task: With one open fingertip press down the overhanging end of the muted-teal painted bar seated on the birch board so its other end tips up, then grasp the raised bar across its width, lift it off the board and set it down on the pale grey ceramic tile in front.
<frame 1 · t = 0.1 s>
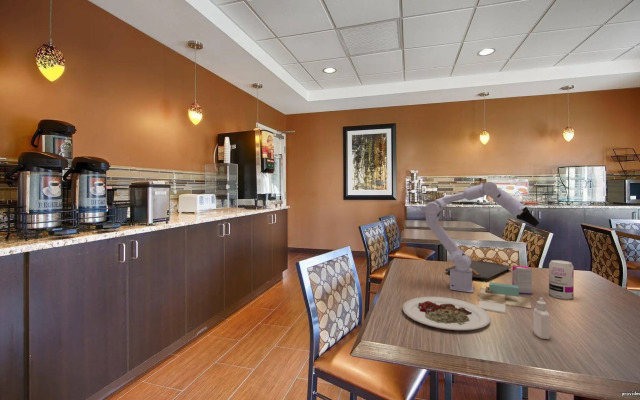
hand: (536, 223, 124), 32 cm above the table, tool tilted 50°, fingers open, 7 cm apart
teal bar: (503, 293, 125), point 3 cm above the table, touching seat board
eye dropper bottle: (541, 336, 94), on the table
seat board: (503, 299, 125), on the table
serving board: (478, 273, 168), on the table
supplement box: (521, 292, 134), on the table
supplement can: (560, 297, 128), on the table
grey tile: (491, 307, 117), on the table
plated food: (444, 316, 111), on the table
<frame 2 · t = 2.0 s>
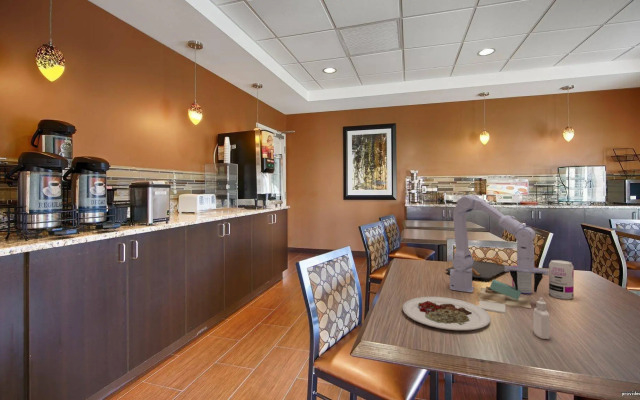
hand: (525, 290, 121), 5 cm above the table, tool pointing down, fingers open, 5 cm apart
teal bar: (503, 293, 125), point 3 cm above the table, tilted 18°, touching gripper, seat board
everything else where it was.
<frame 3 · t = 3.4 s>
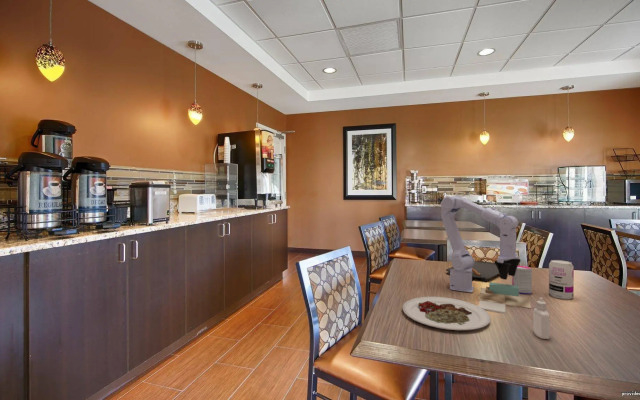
hand: (507, 277, 124), 10 cm above the table, tool pointing down, fingers open, 7 cm apart
teal bar: (503, 293, 125), point 3 cm above the table, touching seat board
everything else where it was.
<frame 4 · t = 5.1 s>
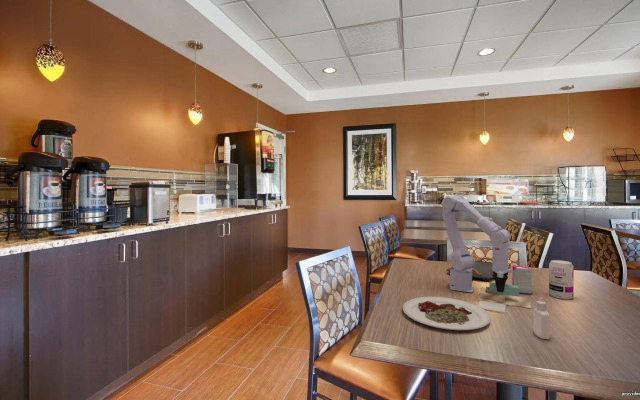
hand: (500, 290, 125), 4 cm above the table, tool pointing down, fingers closed on teal bar, 4 cm apart
teal bar: (503, 293, 125), point 3 cm above the table, touching gripper, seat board
everything else where it was.
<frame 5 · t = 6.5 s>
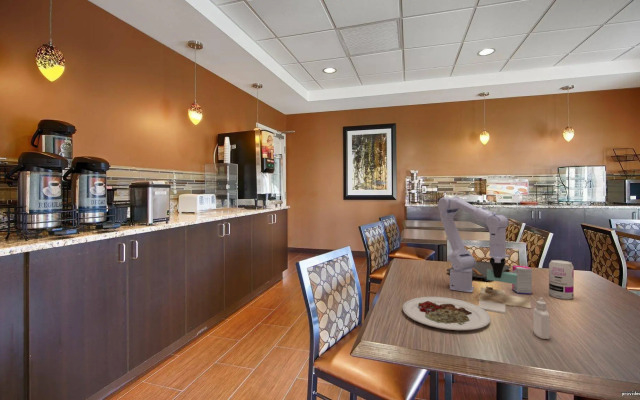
hand: (497, 276, 124), 10 cm above the table, tool pointing down, fingers closed on teal bar, 4 cm apart
teal bar: (501, 280, 123), point 9 cm above the table, touching gripper
everything else where it was.
when the fingers open (6 cm above the table, at t = 8.2 s): teal bar drops 3 cm, resting on grey tile.
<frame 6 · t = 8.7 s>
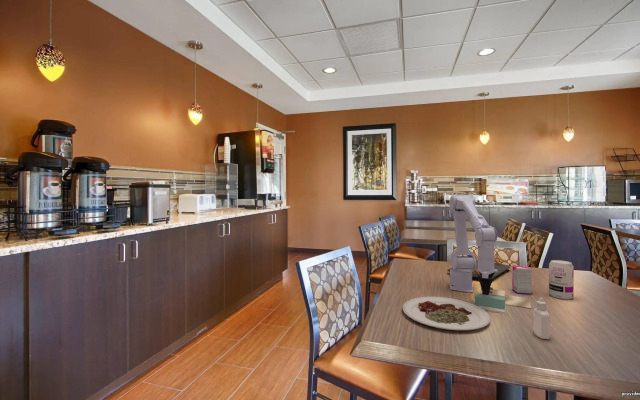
hand: (486, 291, 118), 6 cm above the table, tool pointing down, fingers open, 7 cm apart
teal bar: (489, 305, 118), point 1 cm above the table, touching grey tile
everything else where it was.
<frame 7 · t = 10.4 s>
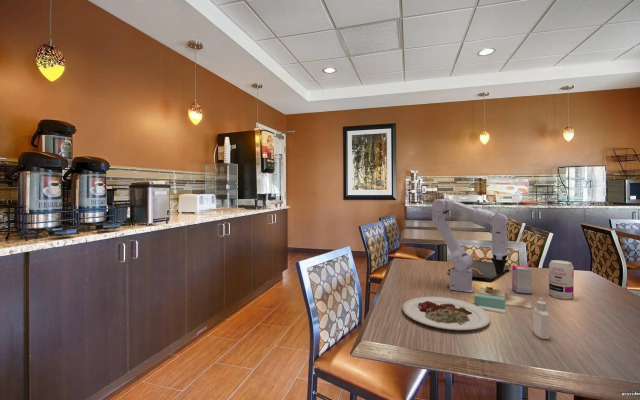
hand: (499, 273, 129), 10 cm above the table, tool pointing down, fingers open, 7 cm apart
nothing on the table moved.
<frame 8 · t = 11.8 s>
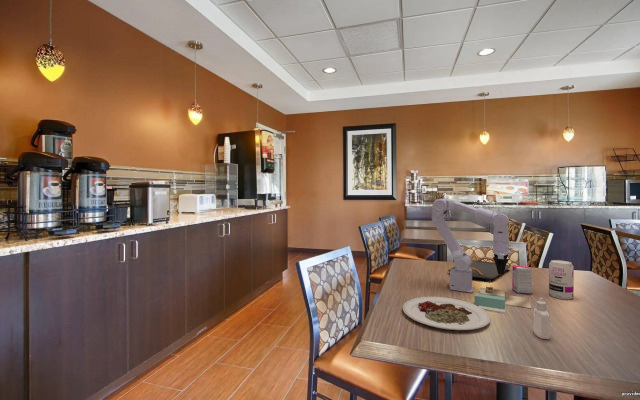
hand: (500, 272, 130), 10 cm above the table, tool pointing down, fingers open, 7 cm apart
at the end: teal bar inside the target area on the grey tile (0.8 cm from its centre), point 0.6 cm above the grey tile's base; teal bar touching grey tile; the gripper is holding nothing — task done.
